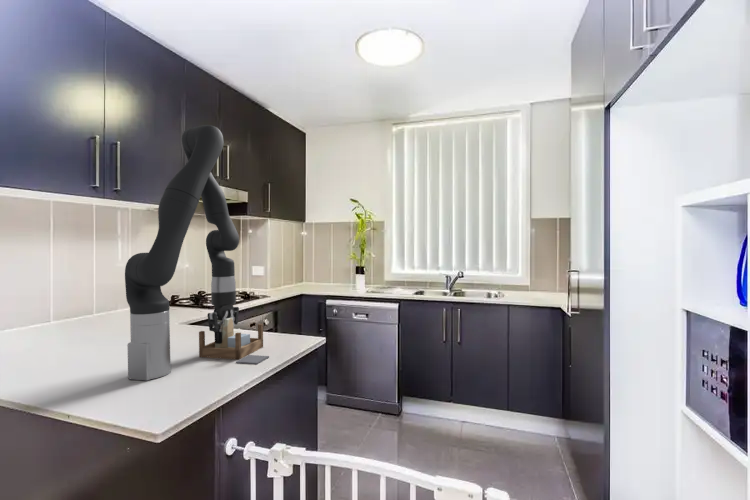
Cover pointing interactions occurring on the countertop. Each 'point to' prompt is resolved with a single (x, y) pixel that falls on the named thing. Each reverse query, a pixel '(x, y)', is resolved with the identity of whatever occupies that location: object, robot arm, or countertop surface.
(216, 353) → the frame
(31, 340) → the countertop surface
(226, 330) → the box
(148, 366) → the robot arm
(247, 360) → the mat
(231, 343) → the offcut top
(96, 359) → the countertop surface
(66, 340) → the countertop surface
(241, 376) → the countertop surface
